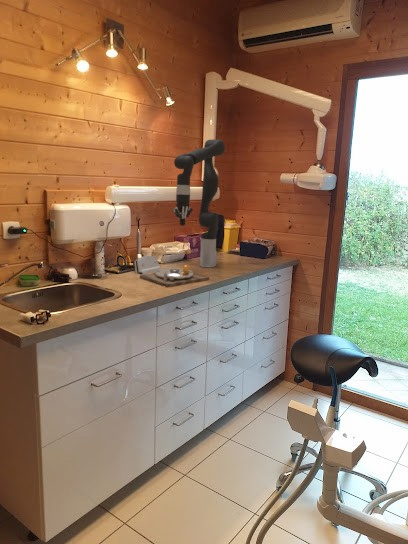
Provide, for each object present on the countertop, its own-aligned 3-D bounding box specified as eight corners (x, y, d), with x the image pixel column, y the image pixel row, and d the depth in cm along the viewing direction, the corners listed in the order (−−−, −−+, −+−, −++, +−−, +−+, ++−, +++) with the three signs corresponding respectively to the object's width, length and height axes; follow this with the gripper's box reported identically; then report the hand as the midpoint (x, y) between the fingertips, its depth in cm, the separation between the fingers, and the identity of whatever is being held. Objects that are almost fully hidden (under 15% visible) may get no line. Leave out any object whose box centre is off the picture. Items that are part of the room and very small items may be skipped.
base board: (180, 271, 243) (180, 261, 241) (209, 279, 225) (209, 268, 224) (139, 277, 224) (139, 266, 223) (167, 287, 207) (167, 275, 206)
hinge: (142, 274, 232) (137, 257, 232) (136, 276, 235) (131, 258, 234) (162, 270, 245) (157, 253, 245) (156, 271, 248) (152, 255, 248)
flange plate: (197, 272, 232) (197, 260, 230) (186, 281, 210) (186, 268, 209) (162, 269, 236) (162, 258, 234) (148, 278, 214) (148, 265, 213)
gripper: (188, 193, 237) (187, 224, 240) (169, 193, 228) (168, 225, 232) (196, 194, 231) (195, 225, 235) (178, 193, 223) (177, 226, 226)
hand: (182, 225), depth 233 cm, fingers closed
